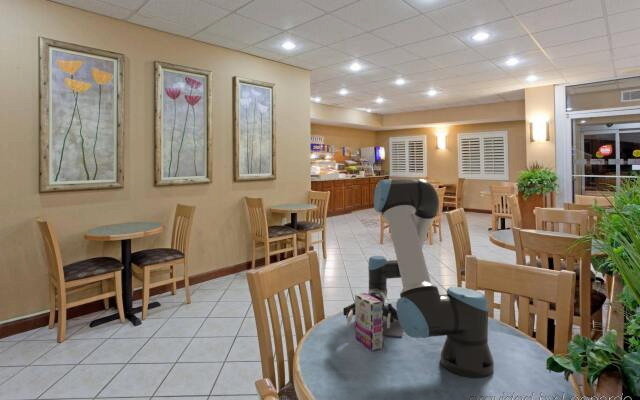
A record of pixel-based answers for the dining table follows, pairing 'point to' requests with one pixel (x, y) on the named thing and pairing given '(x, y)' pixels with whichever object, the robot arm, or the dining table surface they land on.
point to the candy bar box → (369, 321)
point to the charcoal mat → (392, 328)
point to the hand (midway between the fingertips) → (367, 322)
